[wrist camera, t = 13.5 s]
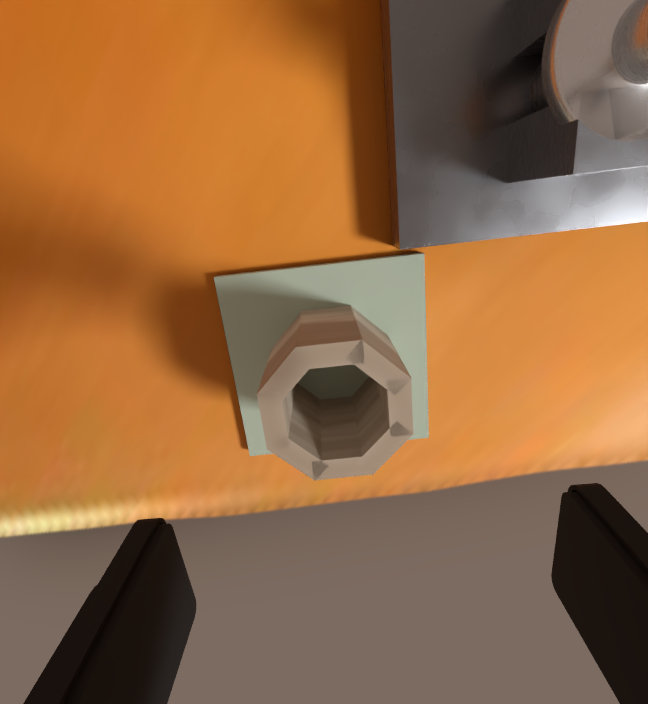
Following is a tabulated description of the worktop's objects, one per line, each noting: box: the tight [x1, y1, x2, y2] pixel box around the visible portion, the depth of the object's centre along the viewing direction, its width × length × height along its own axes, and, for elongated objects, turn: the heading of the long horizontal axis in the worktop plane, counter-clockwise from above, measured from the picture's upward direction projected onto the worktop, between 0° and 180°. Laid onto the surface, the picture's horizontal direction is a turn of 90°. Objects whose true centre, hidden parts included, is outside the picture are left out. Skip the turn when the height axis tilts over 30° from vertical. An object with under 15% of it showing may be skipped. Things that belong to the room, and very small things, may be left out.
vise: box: [380, 0, 648, 250], centre depth 13 cm, size 14×13×12 cm
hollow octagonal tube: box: [257, 305, 414, 480], centre depth 20 cm, size 6×6×6 cm
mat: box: [214, 252, 429, 456], centre depth 23 cm, size 11×11×1 cm
